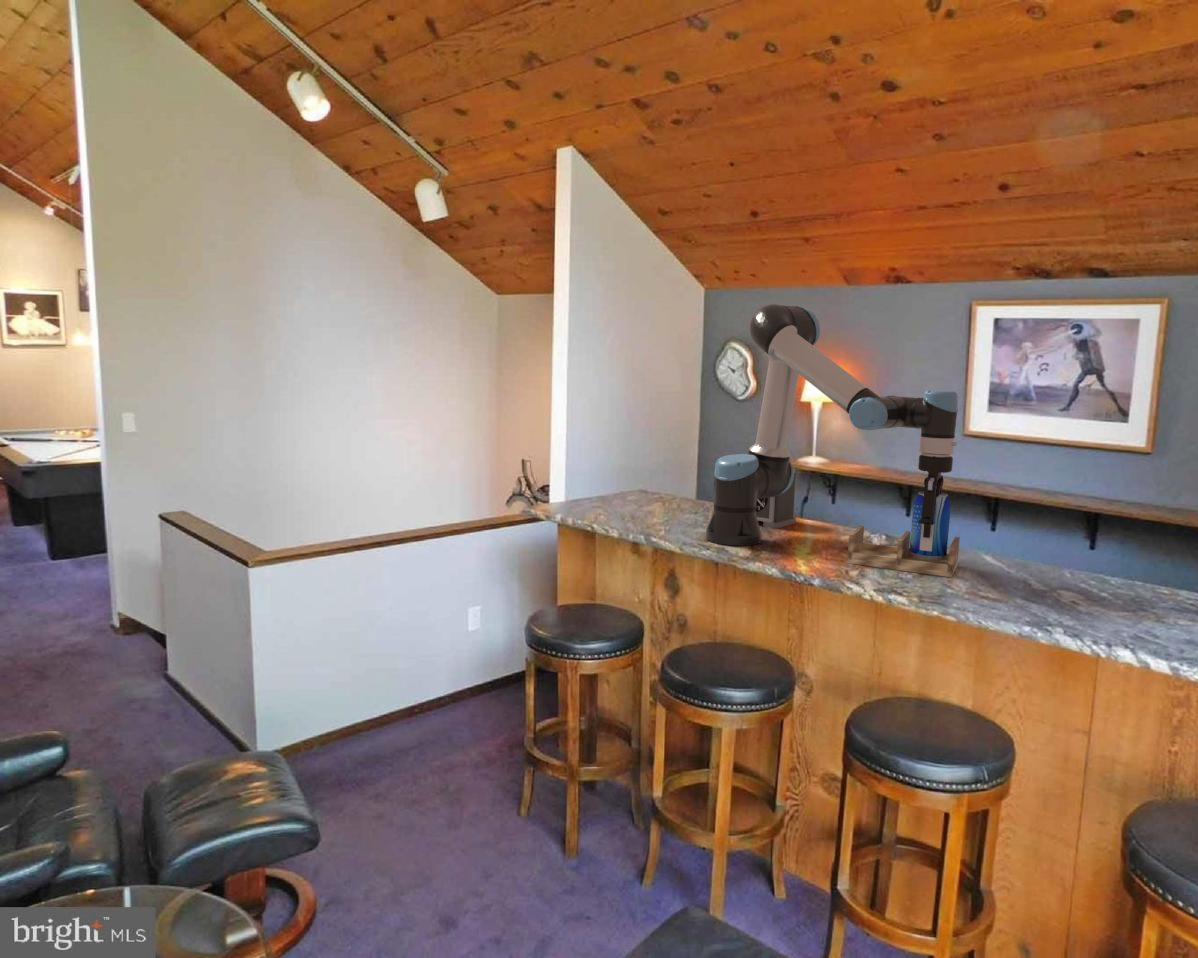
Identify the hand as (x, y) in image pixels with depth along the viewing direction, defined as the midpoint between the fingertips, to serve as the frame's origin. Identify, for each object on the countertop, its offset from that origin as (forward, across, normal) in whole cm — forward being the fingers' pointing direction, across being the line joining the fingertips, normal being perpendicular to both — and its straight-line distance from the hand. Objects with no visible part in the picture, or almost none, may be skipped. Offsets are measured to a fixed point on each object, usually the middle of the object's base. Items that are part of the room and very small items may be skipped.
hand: (928, 546), depth 196 cm
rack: (+5, 0, +6) cm, 8 cm away
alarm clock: (+6, +32, +53) cm, 62 cm away
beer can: (+3, 0, 0) cm, 3 cm away
